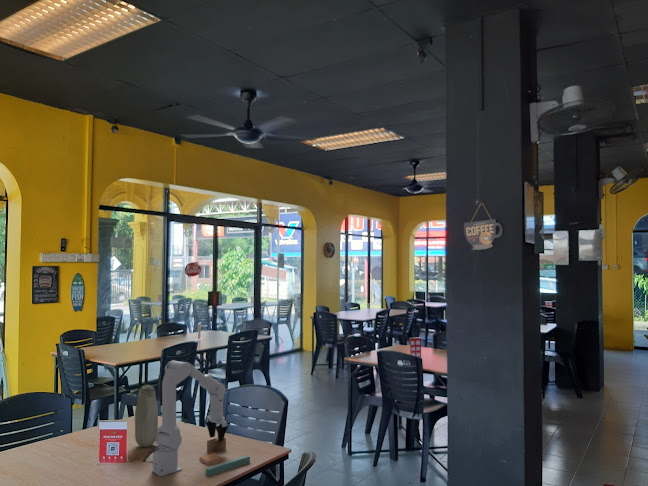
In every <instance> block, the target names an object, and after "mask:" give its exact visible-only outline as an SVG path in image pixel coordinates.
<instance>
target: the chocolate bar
mask: <svg viewBox="0 0 648 486" xmlns="http://www.w3.org/2000/svg"><path fill="white" fill-rule="evenodd" d="M159 449H160V448H159V445H154V446H153V447H152V448H151V450H150V451H149V452H148V453H147V455H146V456H145V457H144V458H143V459H142V463H153V453H154V452H156V451H158V450H159Z"/></svg>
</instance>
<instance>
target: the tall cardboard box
mask: <svg viewBox="0 0 648 486" xmlns="http://www.w3.org/2000/svg"><path fill="white" fill-rule="evenodd" d="M226 449H227V438H226V437H224V440H223V441H221V442H219V441H218V437H216V438H213V439H209V440H206V452H207V453H208V454H211V453H218V452H220V451H223V450H226Z"/></svg>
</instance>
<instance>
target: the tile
mask: <svg viewBox="0 0 648 486" xmlns="http://www.w3.org/2000/svg"><path fill="white" fill-rule="evenodd" d="M199 461H200V462H202V463H204V464H205V465H207V466H211V465H213V464H216V463H219V462H223V456H221V455H219V454H218V453H217V452H214V453H208V454H205V455H202V456H199Z"/></svg>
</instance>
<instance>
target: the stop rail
mask: <svg viewBox="0 0 648 486" xmlns="http://www.w3.org/2000/svg"><path fill="white" fill-rule="evenodd" d="M249 463H251V457H250V455H244V456H241V457H236V458H235V459H231V460H228V461H224V462H221V463H219V464H215V465H212V466H211V465H210V466H209V467H205V475H206V476H207V477H211V476H213V475H217V474H219V473H222V472H226V471H228V470H231V469H234V468H236V467H237V468H238V467H241V466H243V465H246V464H249Z"/></svg>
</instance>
